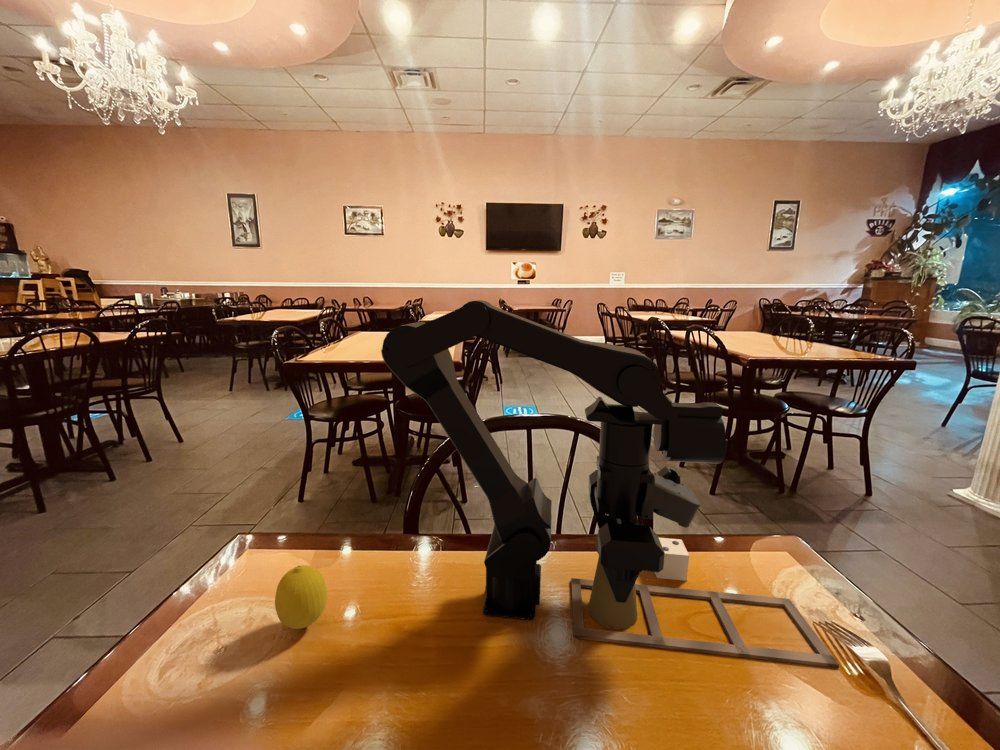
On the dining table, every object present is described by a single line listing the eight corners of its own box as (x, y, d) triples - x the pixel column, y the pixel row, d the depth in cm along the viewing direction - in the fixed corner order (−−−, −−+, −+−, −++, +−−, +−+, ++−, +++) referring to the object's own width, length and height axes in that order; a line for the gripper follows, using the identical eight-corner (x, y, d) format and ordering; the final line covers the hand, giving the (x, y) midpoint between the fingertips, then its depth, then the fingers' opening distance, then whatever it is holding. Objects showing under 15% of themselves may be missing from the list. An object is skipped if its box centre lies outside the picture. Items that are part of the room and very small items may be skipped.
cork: (640, 633, 50) (647, 548, 48) (587, 624, 52) (592, 542, 50) (635, 598, 56) (641, 521, 54) (588, 591, 57) (592, 516, 55)
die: (656, 578, 60) (659, 552, 60) (651, 561, 64) (653, 536, 63) (686, 581, 60) (689, 555, 59) (679, 563, 64) (681, 539, 63)
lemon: (337, 626, 51) (333, 566, 50) (289, 653, 47) (283, 589, 46) (316, 603, 55) (312, 546, 53) (270, 627, 51) (264, 567, 49)
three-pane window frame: (573, 638, 50) (574, 634, 50) (571, 580, 60) (571, 578, 59) (838, 667, 46) (839, 664, 46) (788, 601, 56) (789, 598, 56)
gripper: (727, 499, 40) (709, 643, 43) (674, 435, 58) (664, 539, 61) (605, 490, 41) (596, 630, 44) (591, 430, 60) (585, 532, 62)
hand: (615, 575), depth 53 cm, fingers open, 9 cm apart
